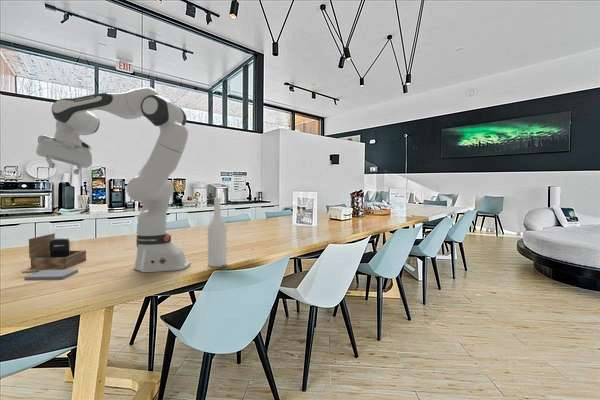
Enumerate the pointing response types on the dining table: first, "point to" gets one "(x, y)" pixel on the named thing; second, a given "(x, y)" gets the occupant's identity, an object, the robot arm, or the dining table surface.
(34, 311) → the dining table surface
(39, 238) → the wooden box
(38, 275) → the mat
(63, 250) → the battery charger
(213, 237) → the bottle
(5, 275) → the dining table surface
